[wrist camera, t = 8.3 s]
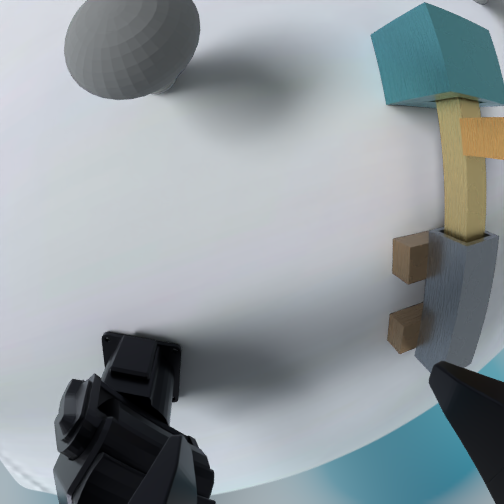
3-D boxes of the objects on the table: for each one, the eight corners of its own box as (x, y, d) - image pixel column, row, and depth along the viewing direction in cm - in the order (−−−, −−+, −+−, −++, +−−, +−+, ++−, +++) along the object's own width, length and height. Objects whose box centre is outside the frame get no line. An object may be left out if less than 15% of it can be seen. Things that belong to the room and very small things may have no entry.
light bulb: (221, 84, 16) (233, 12, 7) (144, 138, 17) (77, 118, 7) (173, 24, 14) (149, -66, 5) (100, 75, 15) (22, 23, 5)
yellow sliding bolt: (457, 299, 20) (506, 334, 14) (434, 309, 20) (483, 349, 14) (451, 68, 14) (513, 56, 8) (424, 62, 14) (489, 44, 8)
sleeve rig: (445, 323, 25) (485, 358, 18) (386, 348, 25) (424, 394, 18) (436, 48, 16) (492, 32, 10) (365, 34, 16) (418, 0, 9)
